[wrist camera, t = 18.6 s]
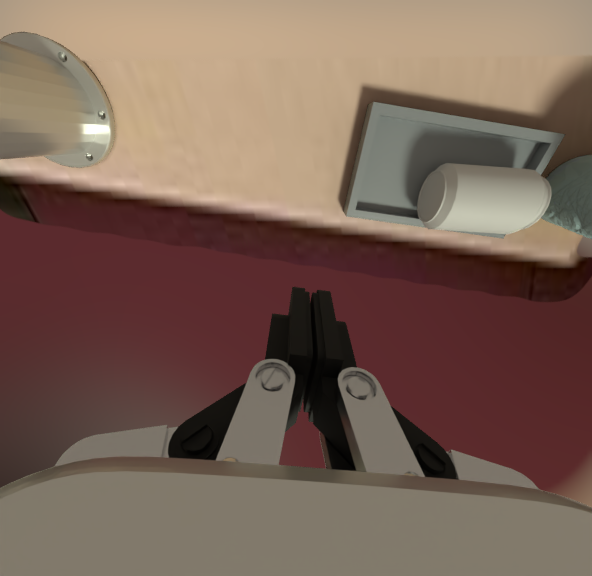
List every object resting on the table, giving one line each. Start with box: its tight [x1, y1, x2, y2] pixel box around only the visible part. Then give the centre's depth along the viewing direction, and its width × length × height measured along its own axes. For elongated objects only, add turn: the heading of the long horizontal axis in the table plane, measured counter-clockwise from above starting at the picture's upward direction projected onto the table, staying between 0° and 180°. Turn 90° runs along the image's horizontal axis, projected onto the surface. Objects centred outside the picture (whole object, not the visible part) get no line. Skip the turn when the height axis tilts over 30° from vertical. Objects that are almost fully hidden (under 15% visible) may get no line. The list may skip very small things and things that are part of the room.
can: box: [417, 163, 551, 234], centre depth 30 cm, size 8×8×12 cm
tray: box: [343, 102, 565, 238], centre depth 32 cm, size 22×12×2 cm, turn 82°
